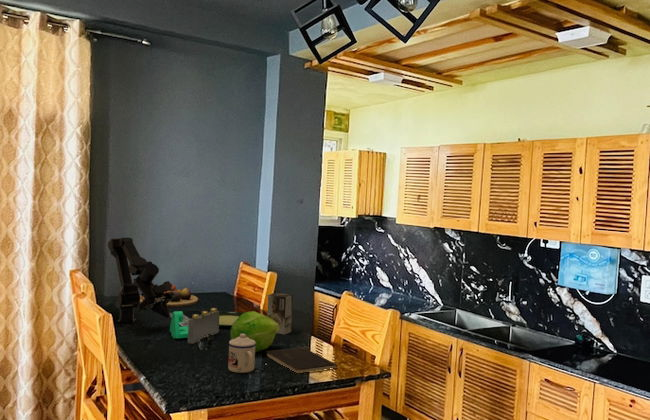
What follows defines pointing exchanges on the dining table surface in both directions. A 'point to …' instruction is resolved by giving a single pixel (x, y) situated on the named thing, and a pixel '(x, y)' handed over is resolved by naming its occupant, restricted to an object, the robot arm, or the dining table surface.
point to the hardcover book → (300, 360)
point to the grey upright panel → (203, 325)
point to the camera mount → (174, 327)
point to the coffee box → (280, 311)
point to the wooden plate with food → (178, 298)
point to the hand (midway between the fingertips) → (168, 317)
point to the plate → (228, 318)
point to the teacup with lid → (241, 354)
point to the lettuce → (255, 329)
